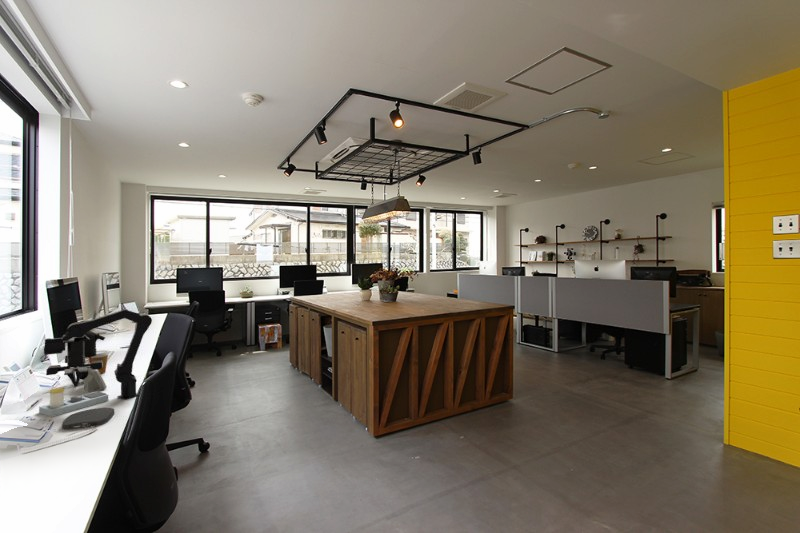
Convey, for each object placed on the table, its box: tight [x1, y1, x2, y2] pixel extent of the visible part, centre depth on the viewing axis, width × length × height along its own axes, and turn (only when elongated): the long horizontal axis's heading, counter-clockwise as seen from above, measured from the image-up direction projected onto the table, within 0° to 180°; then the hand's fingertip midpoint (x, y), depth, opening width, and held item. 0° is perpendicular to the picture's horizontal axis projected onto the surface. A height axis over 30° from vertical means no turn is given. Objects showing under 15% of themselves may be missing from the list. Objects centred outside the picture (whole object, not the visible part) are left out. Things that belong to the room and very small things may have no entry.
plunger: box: [70, 394, 83, 403], centre depth 169 cm, size 4×4×3 cm
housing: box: [38, 391, 109, 418], centre depth 169 cm, size 10×21×2 cm, turn 154°
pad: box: [82, 390, 107, 399], centre depth 175 cm, size 7×6×1 cm
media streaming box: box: [61, 407, 115, 431], centre depth 154 cm, size 15×15×3 cm
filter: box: [75, 330, 106, 381], centre depth 203 cm, size 14×9×30 cm
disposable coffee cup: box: [88, 350, 110, 375], centre depth 217 cm, size 10×10×12 cm
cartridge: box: [49, 387, 65, 409], centre depth 163 cm, size 5×5×10 cm
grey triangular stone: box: [83, 368, 107, 392], centre depth 193 cm, size 16×9×11 cm, turn 38°
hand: (75, 386), depth 169 cm, fingers closed
